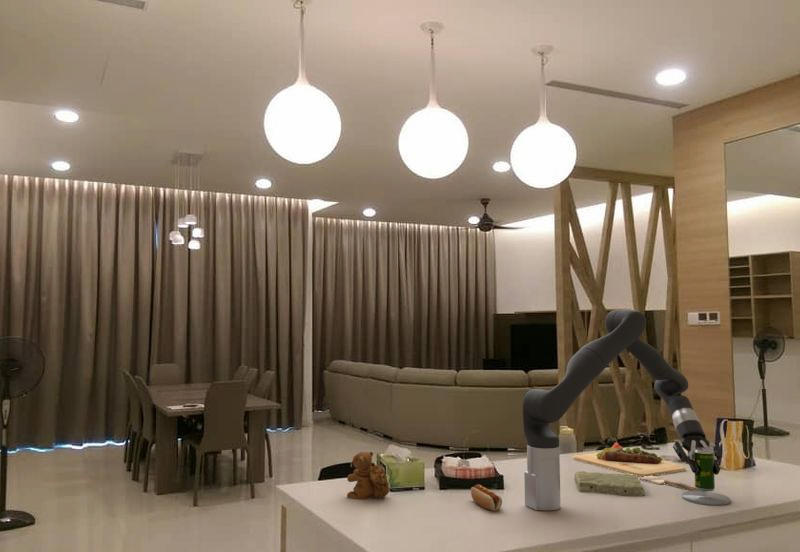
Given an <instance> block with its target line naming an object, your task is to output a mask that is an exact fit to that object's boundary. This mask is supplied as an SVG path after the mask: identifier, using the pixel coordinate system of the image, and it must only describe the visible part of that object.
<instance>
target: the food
mask: <svg viewBox="0 0 800 552" xmlns="http://www.w3.org/2000/svg"><path fill="white" fill-rule="evenodd" d="M470 494H471V498H472V500H473V502H475V503H476V504H478V505H479V506H481V507H483V508H484V509H485V510H489V511H492V512H493V511H497V512H498V510H500V509H501V507H502V506H503V505H502V504H503V499H502V497H501V496H500V495H498V494H496V493H495V491H491V490H490V489H488V488H486V487H484V486H482V485H481V484H475V485H474V486H472V487H471V488H470Z"/></svg>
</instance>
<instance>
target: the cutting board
mask: <svg viewBox="0 0 800 552" xmlns="http://www.w3.org/2000/svg"><path fill="white" fill-rule="evenodd" d="M572 458H573V459H574V461H577V462H581V463H585V464H590V465H592V464H593V465H594V466H596V465H597V466H596V467H600V466H601V468H604V467H605V469H608V468H609V470H611V469H613V471H615V470H617V471H616V472H619V471H621V472H620V473H623V472H625V473H624V474H626V473H629V474H628V475H630V474H633V475H637V477H639V476H651V475H656V476H658V475H657V474H663V475H665V474H664V473H669V474H673V473H672V472H676V473H680V472H679V471H682V472H686V467H684V466H682V465H680V464H677V463H673V462H668V461H663V460H664V459H663V457H661V456H658V455H657V454H656V453H654V452H648V451H645V450H643V449H640V447H636V446H632V448H630V447H626V448H625V449H623V446H621V445H620V444H619V443H618V442H614V444H613V445H612V446H611V447H605V448H603V449H602V451H600V452H592V453H585V454H584V453H583V454H577V455H573V457H572Z"/></svg>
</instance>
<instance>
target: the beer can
mask: <svg viewBox="0 0 800 552" xmlns="http://www.w3.org/2000/svg"><path fill="white" fill-rule="evenodd" d="M694 460H695V461H696V463H697V466H698V468H699V473H698V475H695V474H694V486H695V487H696V489H698V490H701V491H707V492H714V491H715V488H716V487H715V486H716V485H715V474H714V452H713V449H711V447H709V448H706V447H696V448H695V450H694Z"/></svg>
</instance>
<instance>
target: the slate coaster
mask: <svg viewBox="0 0 800 552" xmlns="http://www.w3.org/2000/svg"><path fill="white" fill-rule="evenodd" d="M681 496H682V499H683V500H685V501H687V502H690V503H694V504H699V505H707V506H726V505H729V504H730V503H731V498H730V497H729V496H727V495H726V494H725V495H724V494H722V493H717V492H714V491H707V492H706V491H691V490H687V491H684V492H682V493H681Z"/></svg>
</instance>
